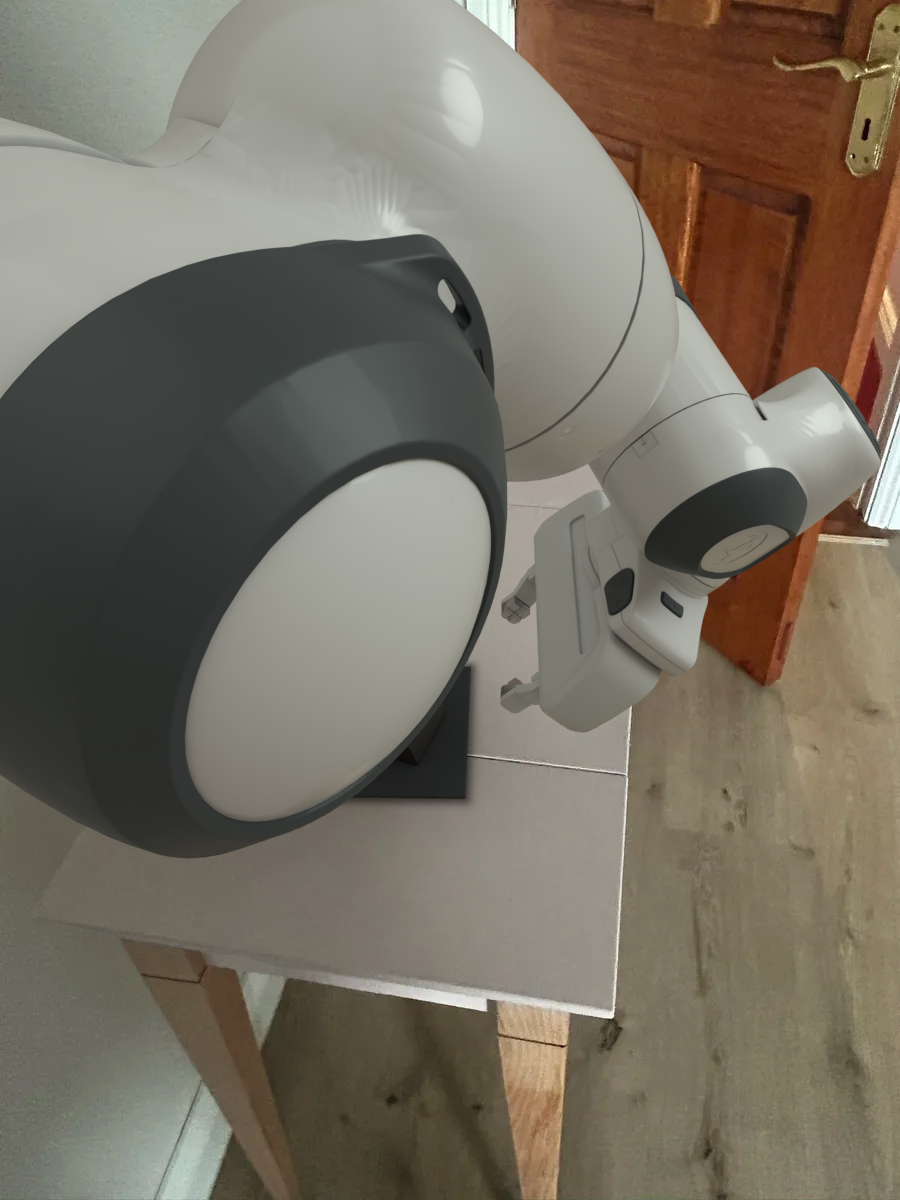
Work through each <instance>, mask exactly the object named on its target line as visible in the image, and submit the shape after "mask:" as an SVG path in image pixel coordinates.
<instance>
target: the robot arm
mask: <svg viewBox="0 0 900 1200" xmlns="http://www.w3.org/2000/svg"><path fill="white" fill-rule="evenodd" d="M168 116H169V117H168V119H167V124H166V128H165V132H164V133H163V134H162V135H161V136H160V137H159V138H158V139H157V140H155V141H154V142H153V143H152V144H150V145H149V146H148V147H146V148H144V149H142V150H140V151H138V152H137V153H133V154H129V155H126V156H123V157H122V158H121V159H120V158H118V157H115V156H113V155H110V154H108V153H106V152H103V151H101V150H98V149H96V148H94V147H91V146H88V145H86V144H84V143H81V142H78V141H75V140H72V139H70V138H68V137H65V136H62V135H59V134H58V133H57V134H56V133H55V132H51V131H50V130H46V129H44V128H39V127H35V126H32V125H29V124H25V123H22V122H18V121H15V120H13V119H12V120H11V119H9V118H4V117H0V776H1V777H3V778H4V779H5V780H7V781H8V782H10V783H11V784H13V785H15V786H16V787H18V789H20V790H22V791H23V792H25V793H27V794H28V795H30V796H31V797H33V798H35V799H36V800H38V801H40V802H41V803H43V804H45V805H47V806H48V807H50V808H52V809H54V810H55V811H57V812H59V813H60V814H61V815H64V816H65V817H67V818H69V819H70V820H72V821H74V822H76V823H78V824H80V825H82V826H84V827H86V828H89V829H91V830H92V831H95V832H96V833H99V834H101V835H104V836H105V837H108V838H110V839H112V840H115V841H117V842H120V843H122V844H124V845H128V846H131V847H134V848H137V849H139V850H143V851H146V852H149V853H152V854H155V855H159V856H163V857H168V858H177V859H200V858H209V857H215V856H221V855H225V854H229V853H231V852H234V851H235V852H236V851H238V850H241V849H245V848H247V847H250V846H253V845H257V844H259V843H262V842H265V841H268V840H270V839H274V838H278V837H280V836H283V835H286V834H288V833H291V832H294V831H296V830H299V829H301V828H303V827H306V826H307V825H308V826H309V824H312V823H313V822H316V821H317V820H319V819H321V818H323V817H325V816H327V815H328V814H329V813H331V812H333V811H334V810H337V808H339V807H340V806H343V805H344V804H345V803H346V802H348V801H349V800H351V799H352V798H354V797H353V796H354V795H356V794H357V793H358V792H360V791H361V790H362V789H363V788H365V787H366V786H367V785H368V784H369V783H370V782H372V781H373V780H374V779H375V778H376V777H377V776H378V775H379V774H380V773H382V772H383V771H384V770H385V769H386V768H387V767H388V766H389V765H390V764H391V763H392V762H393V761H394V760H395V759H396V758H397V757H398V756H399V755H400V754H401V753H402V752H403V751H404V750H405V749H406V747H407V746H408V745H409V744H410V743H411V742H412V741H413V739H414V738H415V737H416V736H417V735H418V733H419V732H420V731H421V730H422V729H423V727H424V726H425V725H426V724H427V722H428V721H429V720H430V718H431V717H432V716H433V714H434V713H435V712H436V710H437V709H438V707H439V706H440V705H441V703H442V702H443V700H444V699H445V697H446V696H447V694H448V693H449V691H450V690H451V688H452V686H453V685H454V683H455V682H456V680H457V678H458V677H459V675H460V673H461V671H462V669H463V668H464V666H466V665H467V663H468V661H469V659H470V657H471V655H472V653H473V651H474V648H476V647H475V646H476V644H477V642H478V641H479V638H480V636H481V634H482V632H483V629H484V626H485V624H486V621H487V620H488V617H489V614H490V612H491V609H492V605H493V603H494V602H493V601H494V599H495V596H496V592H497V589H498V585H499V581H500V577H501V572H502V568H503V563H504V555H505V547H506V534H507V524H508V483H520V482H521V483H523V482H525V483H526V482H536V481H537V482H538V481H542V480H548V479H549V480H550V479H553V478H557V477H560V476H563V475H566V474H569V473H571V472H574V471H576V470H578V469H580V468H583V467H585V466H587V465H588V467H589V468H590V471H591V472H592V474H593V475H594V477H595V479H596V480H597V483H598V484H599V486H600V487H601V489H602V490H601V489H593V490H590V491H589V492H588V491H587V492H586V493H584V494H583V495H581V496H579V497H577V498H576V499H574V500H572V501H571V502H569V503H568V504H566V505H565V506H563V507H562V508H560V509H559V510H558V511H556V512H554V513H553V514H552V515H550V516H549V517H548V518H546V519H545V520H544V521H542V523H541V524H540V525H539V527H538V528H537V530H536V531H535V534H534V535H533V551H534V552H533V553H534V555H533V556H534V564H533V565H532V566H530V567H529V568H528V569H527V570H526V572H525V573H524V575H523V576H522V577H521V579H520V580H519V582H518V583H517V585H516V586H515V588H514V590H513V591H512V592H511V593H510V594H508V595H507V596H506V597H504V598H502V599H501V602H500V616H501V617H502V618H503V620H506V621H507V622H508V623H510V624H512V625H517V624H519V623H521V621H522V620H524V619H526V618H528V616H530V615H531V608H532V606H533V605H534V604H535V612H536V637H537V638H536V639H537V663H538V664H537V666H538V667H537V669H538V671H537V672H535V673H534V674H532V675H531V678H530V680H531V682H527V683H523V682H522V681H521V680H520V679H518V678H517V677H513V678H512V679H510V680H509V681H508V682H507V683H506V684H503V685H502V686H501V687H500V703H499V704H500V706H501V707H502V708H504V709H505V710H507V711H508V712H510V714H520V713H521V712H523V711H524V710H525V709H527V708H529V707H530V706H539V708H540V710H541V712H542V713H543V714H544V715H546V716H547V717H549V719H551V720H553V721H554V722H556V723H557V724H559V725H560V726H562V727H564V728H565V729H566V730H569V731H571V732H574V733H589V732H591V731H593V730H595V729H597V728H599V727H601V726H602V725H604V724H606V723H607V722H609V721H612V719H615V718H616V717H617V716H619V715H621V714H622V713H624V712H625V711H626V710H628V709H630V708H631V707H633V706H635V704H638V702H640V701H641V700H642V699H644V698H645V697H646V696H648V695H649V694H650V693H651V692H652V690H654V688H655V687H656V686H657V684H658V683H659V681H660V680H661V676H662V673H663V672H664V673H666V674H667V675H670V676H671V677H679V676H681V675H683V674H685V673H686V672H688V671H689V670H690V669H692V668H693V667H694V665H695V664H696V662H697V659H698V654H699V645H700V638H701V631H702V625H703V622H704V621H703V620H704V617H705V613H706V610H707V607H708V603H709V596H708V595H709V594H711V593H713V592H714V591H716V590H718V588H720V587H721V586H723V585H724V584H726V582H728V581H729V580H730V579H731V578H732V577H736V576H738V575H741V574H742V573H745V572H746V571H748V570H750V569H752V568H754V567H755V566H756V565H758V564H760V563H762V562H764V560H766V559H768V558H769V557H771V556H772V555H774V554H775V553H777V552H778V551H780V550H782V549H783V548H785V547H787V545H789V544H790V543H792V542H793V541H795V539H796V538H797V537H798V536H799V535H801V534H803V533H804V532H805V531H807V530H808V529H810V528H811V527H813V525H815V524H817V523H818V522H819V521H821V520H822V519H823V518H825V517H826V516H828V514H830V513H831V512H833V510H835V509H836V508H837V507H838V506H840V505H841V504H842V503H843V502H844V501H846V500H847V499H848V498H849V497H850V496H851V495H853V494H854V493H855V492H856V491H858V490H859V489H860V488H861V487H862V486H863V485H864V484H865V483H867V481H868V480H870V479H871V478H872V476H874V475H875V473H876V472H877V471H878V470H879V469H880V467H881V464H882V458H881V457H882V456H881V455H882V451H881V447H880V443H879V441H878V439H877V437H876V435H875V433H874V431H873V429H872V428H871V427H870V426H869V424H868V423H867V421H866V418H865V416H864V415H863V413H862V412H861V409H859V407H858V406H857V404H856V403H855V402H854V400H853V398H851V396H850V394H849V393H848V392H847V391H846V389H845V388H844V387H843V386H842V385H841V383H839V381H838V380H837V379H836V378H835V377H834V376H833V375H832V374H830V373H829V371H826V370H823V369H821V368H819V367H816V366H812V367H808V368H807V369H804V370H802V371H800V372H798V373H796V374H794V375H793V376H791V377H789V378H787V379H785V380H783V381H781V382H780V383H777V385H775V386H773V387H771V388H770V389H768V390H766V391H765V392H763V393H762V394H760V395H758V396H757V397H755V398H754V399H752V397H751V395H750V394H749V393H748V391H747V390H746V388H745V387H744V385H743V384H742V382H741V381H740V379H739V378H738V377H737V374H736V373H735V372H734V371H733V369H732V367H731V366H730V364H729V363H728V361H727V359H726V358H725V357H724V355H723V353H722V352H721V350H720V349H719V348H718V347H717V345H716V343H715V342H714V340H713V339H712V337H711V336H710V335H709V333H708V331H707V330H706V328H705V327H704V326H703V324H702V323H701V320H700V318H699V315H698V313H697V311H696V310H695V308H694V305H692V303H691V301H690V299H689V298H688V296H687V294H686V292H685V290H684V289H683V286H682V285H681V283H680V281H679V280H678V279H677V278H676V277H675V276H674V275H672V274H671V272H670V268H669V265H668V262H667V259H666V256H665V253H664V251H663V248H662V245H661V243H660V241H659V239H658V236H657V234H656V232H655V230H654V228H653V226H652V224H651V221H650V220H649V218H648V215H647V214H646V212H645V210H644V209H643V206H642V205H641V203H640V202H639V199H638V198H637V196H636V195H635V192H634V191H633V189H632V188H631V186H630V185H629V183H628V182H627V180H626V179H625V177H624V176H623V174H622V172H621V171H620V169H619V168H618V167H617V165H616V164H615V163H614V161H613V159H612V158H611V157H610V155H609V154H608V153H607V151H606V150H605V148H604V147H603V145H602V144H601V143H600V141H599V140H598V139H597V138H596V136H595V135H594V134H593V133H592V132H591V131H590V129H589V128H588V126H586V124H585V123H584V122H583V121H582V120H581V118H580V116H578V115H577V113H576V112H575V111H574V110H573V109H572V107H570V105H569V104H568V103H567V101H565V99H564V98H563V97H562V96H561V94H560V93H559V92H558V91H556V90H555V88H554V87H553V86H552V85H551V84H550V83H549V82H548V81H547V80H546V79H545V77H543V76H542V75H541V74H540V72H538V71H537V70H536V69H535V68H534V67H533V65H531V63H529V62H528V61H527V60H526V59H525V58H524V57H522V55H521V54H519V53H518V52H517V51H516V50H515V49H514V48H512V46H511V45H510V44H508V42H506V41H505V40H504V39H503V38H501V36H499V35H498V34H497V33H496V32H495V31H494V30H493V29H491V28H490V27H489V26H488V25H487V24H485V22H483V21H481V20H480V19H479V18H478V17H476V16H475V15H474V14H473V13H472V12H470V11H469V10H468V9H466V8H465V7H464V6H463V5H461V4H460V3H459V2H457V1H456V0H240V1H239V2H238V3H236V5H235V6H234V7H232V8H231V9H230V10H229V11H228V12H227V13H226V14H225V15H224V16H223V18H221V19H220V20H219V21H218V22H217V24H216V25H215V26H214V28H213V29H212V30H211V31H210V32H209V33H208V35H207V37H206V38H205V39H204V41H203V42H202V43H201V45H200V46H199V48H198V49H197V51H196V53H195V54H194V56H193V58H192V60H191V61H190V63H189V65H188V67H187V69H186V70H185V73H184V75H183V77H182V79H181V81H180V83H179V86H178V88H177V90H176V94H175V96H174V99H173V103H172V105H171V109H170V112H169V115H168Z"/></svg>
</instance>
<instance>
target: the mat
mask: <svg viewBox="0 0 900 1200" xmlns="http://www.w3.org/2000/svg"><path fill="white" fill-rule="evenodd" d="M471 667H472V666H470V665H469V666H468V665H467V666H466V665H465V666H464V668H463V669H462V671H461V673H460V675H459V677H458V678H457V680H456V682H455V683H454V685H453V686H452V688H451V690H450V691H449V693H448V694H447V696H446V697H445V699H444V700H443V702H442V703H443V705H444V707H445V709H446V713H445V715H444V717H443V719H442V721H441V723H440V724H439V726H438V728H437V730H436V732H435V734H434V736H433V737H432V739H431V741H430V743H429V745H428V747H427V749H426V751H425V752H424V754H423V756H422V758H421V760H420V762H419V764H418V765H417V766H413V765H410V764H407V763H403V762H400V761H397V760H394V761H393V762H392V763H391V764H390V765H389V766H388V767H387V768H386V769H385V770H384V771H383V772H382V773H380V774H379V775H378V776H377V777H376V778H375V779H374V780H373V781H372V782H370V783H369V784H368V785H367V786H366V787H365V788H363V789H362V790H361V791H360V792H358V793H357V794H356V795H354V796H353V797H352V798H407V799H409V798H411V799H413V798H415V799H416V798H418V799H421V798H422V799H425V798H426V799H466V792H467V791H466V790H467V789H466V788H467V787H466V786H467V766H468V765H467V763H468V744H469V743H468V741H469V718H470V717H469V715H470V691H471V672H472V671H471V670H472V669H471Z"/></svg>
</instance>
